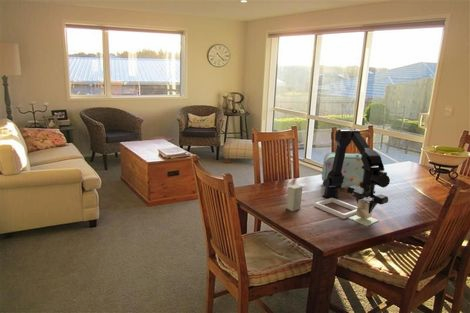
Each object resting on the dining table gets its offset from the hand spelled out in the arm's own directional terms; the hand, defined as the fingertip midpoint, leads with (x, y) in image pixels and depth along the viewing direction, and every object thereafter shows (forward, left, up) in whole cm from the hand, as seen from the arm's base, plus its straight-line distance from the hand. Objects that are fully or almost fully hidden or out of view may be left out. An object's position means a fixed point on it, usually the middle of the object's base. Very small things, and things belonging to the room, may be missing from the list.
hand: (364, 211), depth 171 cm
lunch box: (-36, +34, -5) cm, 50 cm away
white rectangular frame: (-15, 0, -4) cm, 16 cm away
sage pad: (0, 0, -4) cm, 4 cm away
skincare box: (-28, -19, -5) cm, 34 cm away
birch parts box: (0, 0, -2) cm, 3 cm away
